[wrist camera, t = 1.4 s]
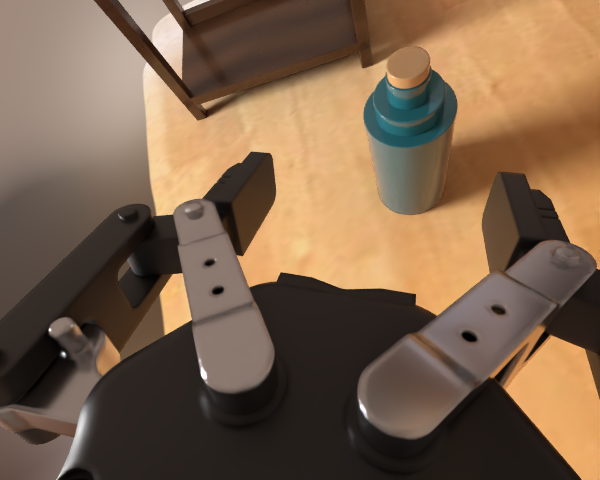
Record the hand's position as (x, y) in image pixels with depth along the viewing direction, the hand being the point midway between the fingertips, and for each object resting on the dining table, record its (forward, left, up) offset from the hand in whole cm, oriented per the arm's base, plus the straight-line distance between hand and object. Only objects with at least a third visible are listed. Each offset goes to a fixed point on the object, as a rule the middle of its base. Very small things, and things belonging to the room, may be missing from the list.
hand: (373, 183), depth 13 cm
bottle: (-8, -7, -20) cm, 22 cm away
